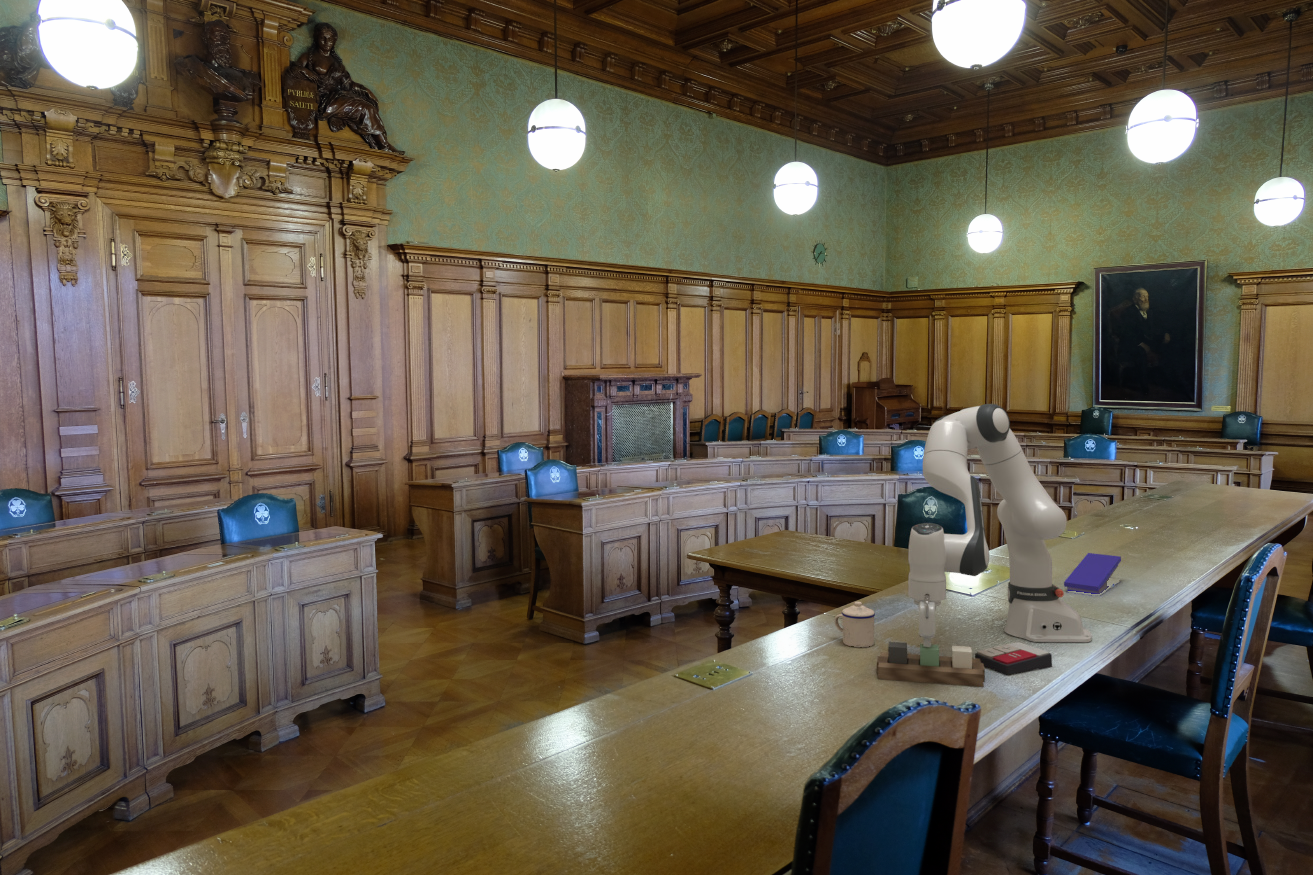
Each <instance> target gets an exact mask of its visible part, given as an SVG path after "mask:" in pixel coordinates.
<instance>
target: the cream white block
mask: <svg viewBox="0 0 1313 875" xmlns="http://www.w3.org/2000/svg"><path fill="white" fill-rule="evenodd" d="M951 657H952V668H965V669H972V658H973V651H972V647H971V646H967V645H966V646H963V645H951Z"/></svg>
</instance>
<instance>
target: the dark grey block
mask: <svg viewBox="0 0 1313 875" xmlns="http://www.w3.org/2000/svg"><path fill="white" fill-rule="evenodd" d="M887 650H888V651H887V652H888V659H889V663H895V664H907V654H908V642H902V641H900V642H899V641H888V647H887Z"/></svg>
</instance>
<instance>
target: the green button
mask: <svg viewBox="0 0 1313 875" xmlns="http://www.w3.org/2000/svg"><path fill="white" fill-rule="evenodd" d="M939 648H940V646H939V644H935V643H933V644H932V643H931V647H924V645H923V643H919V655H920V665H923V666H937V667H939V656H940V649H939Z"/></svg>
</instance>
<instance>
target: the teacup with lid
mask: <svg viewBox="0 0 1313 875" xmlns="http://www.w3.org/2000/svg"><path fill="white" fill-rule="evenodd" d="M875 616H876V614H875V611H874V609H871V608H868V607H867V606H865V605H863V604H862V602H861V601H854V604H853V605H851V606H849V607H846V608H843V609H842V610H841V613H840V614H837V615H836V616H834V625H835V628H836V630H838V631H839V632H841V633H842V642H843V644H844V645H846V646H848V647H851V646H854V647H853V648H860V647H862V648H869V646H870V647H872V646H874V645H875ZM839 618H842V627H841V625H840V623H839Z"/></svg>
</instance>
